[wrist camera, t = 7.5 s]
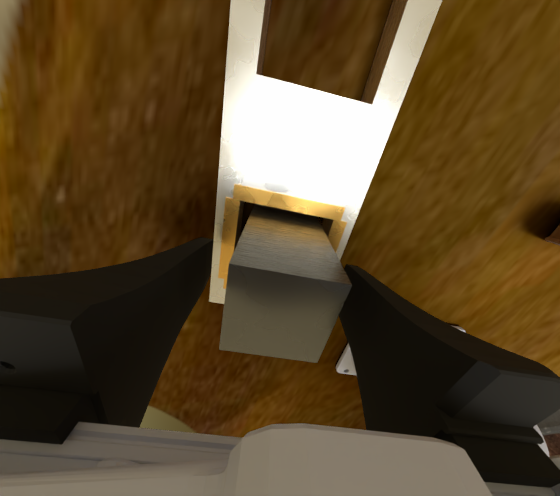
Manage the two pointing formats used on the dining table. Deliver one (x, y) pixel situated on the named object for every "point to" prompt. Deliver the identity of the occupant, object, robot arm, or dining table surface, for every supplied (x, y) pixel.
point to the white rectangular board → (305, 130)
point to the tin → (554, 236)
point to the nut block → (282, 287)
